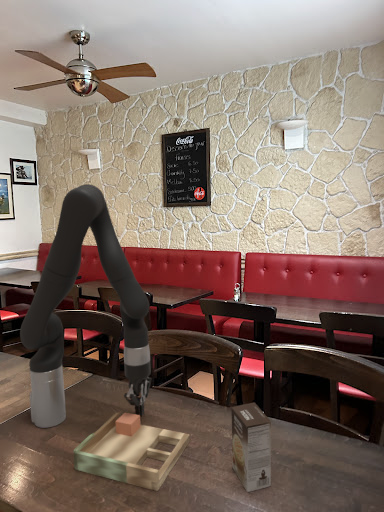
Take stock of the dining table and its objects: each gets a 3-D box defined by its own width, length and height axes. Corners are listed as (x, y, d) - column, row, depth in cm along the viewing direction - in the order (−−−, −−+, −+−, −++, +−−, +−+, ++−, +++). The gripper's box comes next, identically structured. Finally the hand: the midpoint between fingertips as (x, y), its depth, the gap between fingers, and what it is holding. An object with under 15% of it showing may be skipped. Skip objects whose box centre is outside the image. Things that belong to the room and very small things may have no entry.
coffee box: (231, 467, 95) (230, 405, 93) (254, 462, 97) (254, 401, 95) (246, 493, 86) (246, 426, 84) (272, 486, 88) (272, 420, 86)
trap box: (74, 469, 96) (73, 450, 95) (117, 426, 114) (116, 410, 114) (157, 491, 88) (156, 470, 87) (189, 441, 106) (189, 423, 105)
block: (116, 433, 107) (115, 421, 107) (125, 423, 112) (124, 412, 112) (131, 436, 106) (131, 424, 105) (140, 426, 110) (140, 415, 110)
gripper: (137, 369, 105) (140, 429, 107) (158, 352, 117) (160, 406, 120) (113, 366, 108) (117, 424, 110) (136, 350, 120) (139, 402, 122)
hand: (139, 415), depth 115 cm, fingers closed
